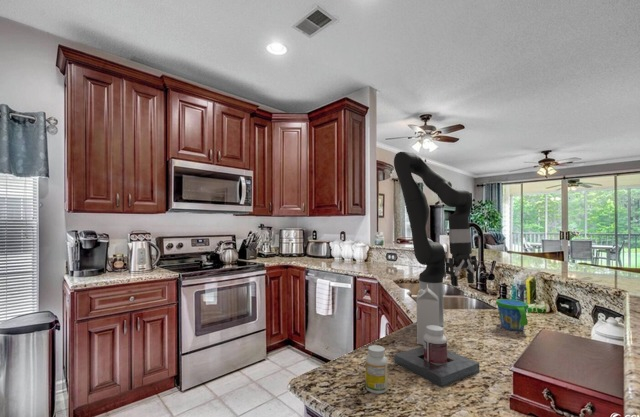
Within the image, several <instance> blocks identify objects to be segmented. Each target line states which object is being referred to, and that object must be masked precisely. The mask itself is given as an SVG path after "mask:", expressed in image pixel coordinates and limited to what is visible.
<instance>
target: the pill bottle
mask: <svg viewBox="0 0 640 417" xmlns="http://www.w3.org/2000/svg"><path fill="white" fill-rule="evenodd" d="M426 332H427V334H425V335H424V345H423V346H424V360H426V361H428V362H430V363H432V364H434V365H437V366H439V365H442V364H445V363H447V350H448V341H447V340H448V339H447V337H446V336H445V335H444V333H445V330H444V327H443V326H441V327H440V326H436V325H429V326H426Z"/></svg>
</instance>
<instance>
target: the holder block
mask: <svg viewBox="0 0 640 417" xmlns="http://www.w3.org/2000/svg"><path fill="white" fill-rule="evenodd" d="M393 356H394V357H393V358H394V360H393V362H394V364H396V365H397V366H399V367H401V368H403V369H404V370H407V371H408V372H411V373H412V374H414V375H417V376H418V377H420V378H422V379H424V380H426V381H428V382H430V383H431V384H433V385H435V386H438V387H439V388H445V387H446V386H449V385H452V384H454V383H457V382H459V381H461V380H464V379H466V378H468V377H471V376H473V375H476V374H478V373H480V362H478V361H475V360H474V359H470V358H468V357H466V356H463V355H460V354H458V353H456V352H453V351H450V350H448V349H447V363H445V364H442V365H439V366H437V365H434V364H432V363H430V362H428V361H426V360H424V345H422V346H418V347H415V348H411V349H408V350H404V351H401V352H397V353H394V355H393Z"/></svg>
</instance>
